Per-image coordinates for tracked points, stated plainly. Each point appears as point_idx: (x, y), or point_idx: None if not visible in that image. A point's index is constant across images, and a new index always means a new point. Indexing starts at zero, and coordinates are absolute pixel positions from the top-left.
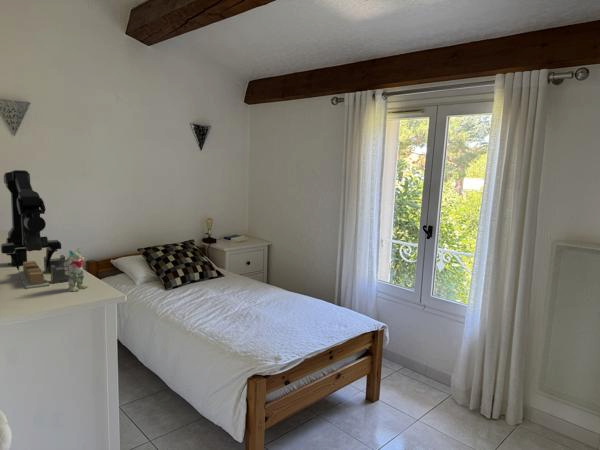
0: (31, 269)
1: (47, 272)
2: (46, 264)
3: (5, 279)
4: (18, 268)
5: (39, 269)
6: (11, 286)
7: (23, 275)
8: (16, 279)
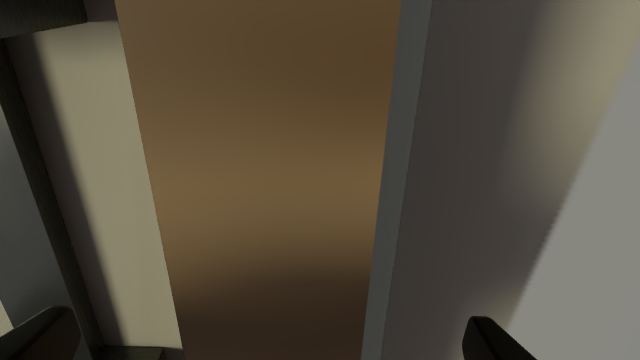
0: (307, 224)
1: (144, 356)
2: (33, 339)
3: (508, 326)
4: (490, 334)
5: (166, 153)
6: (581, 9)
7: None
8: (431, 285)
